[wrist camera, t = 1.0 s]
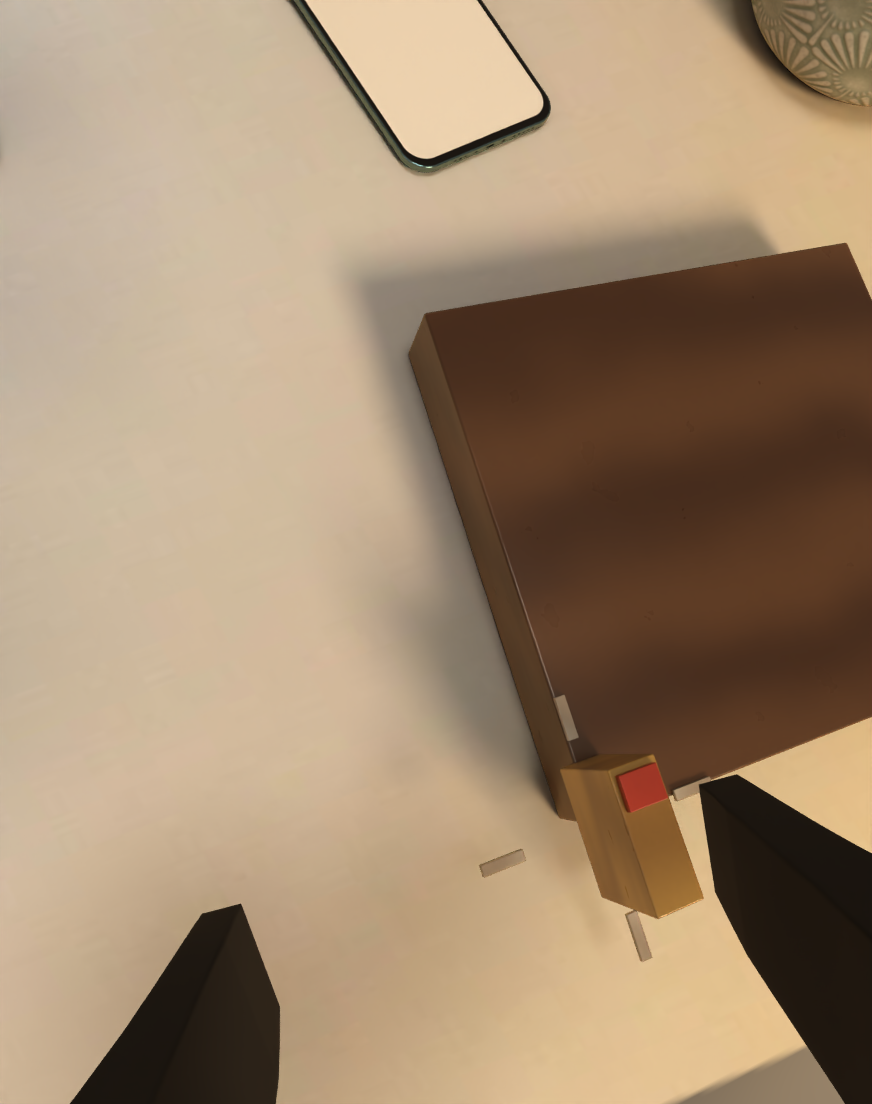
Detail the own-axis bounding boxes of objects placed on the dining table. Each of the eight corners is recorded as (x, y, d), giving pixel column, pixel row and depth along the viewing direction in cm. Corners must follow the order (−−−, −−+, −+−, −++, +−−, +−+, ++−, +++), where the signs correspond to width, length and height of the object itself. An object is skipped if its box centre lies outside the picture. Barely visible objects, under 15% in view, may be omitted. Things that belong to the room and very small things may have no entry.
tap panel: (1003, 761, 33) (1080, 762, 30) (493, 985, 26) (526, 1015, 23) (800, 281, 36) (850, 239, 33) (308, 371, 30) (316, 327, 27)
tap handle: (643, 880, 25) (709, 900, 21) (601, 898, 24) (662, 921, 21) (600, 753, 25) (658, 753, 22) (558, 768, 25) (611, 770, 22)
